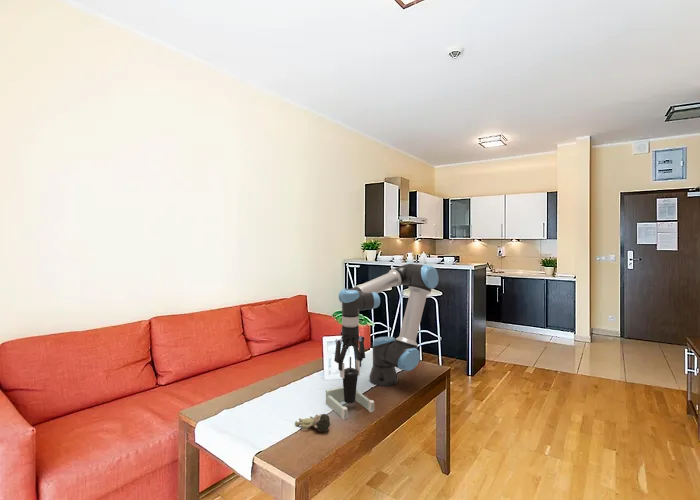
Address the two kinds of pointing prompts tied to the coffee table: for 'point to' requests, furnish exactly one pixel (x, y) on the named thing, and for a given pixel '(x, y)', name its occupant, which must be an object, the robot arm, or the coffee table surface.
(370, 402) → the bay
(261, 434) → the coffee table surface
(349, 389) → the drinking cup
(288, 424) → the coffee table surface
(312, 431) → the coffee table surface
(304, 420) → the figurine
